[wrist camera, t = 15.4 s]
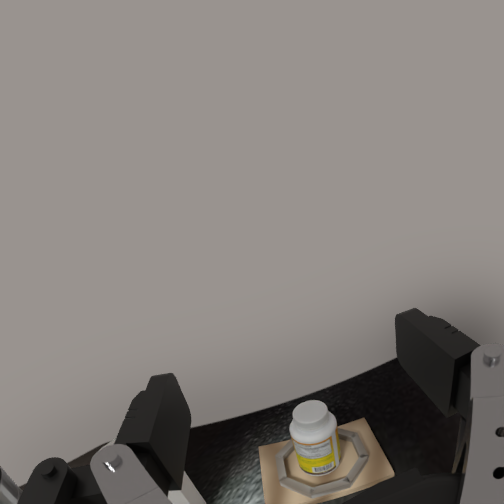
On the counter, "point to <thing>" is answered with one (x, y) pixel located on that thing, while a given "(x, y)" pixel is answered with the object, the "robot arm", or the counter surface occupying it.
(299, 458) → the supplement bottle
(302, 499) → the seat plate
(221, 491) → the counter surface
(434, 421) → the counter surface
